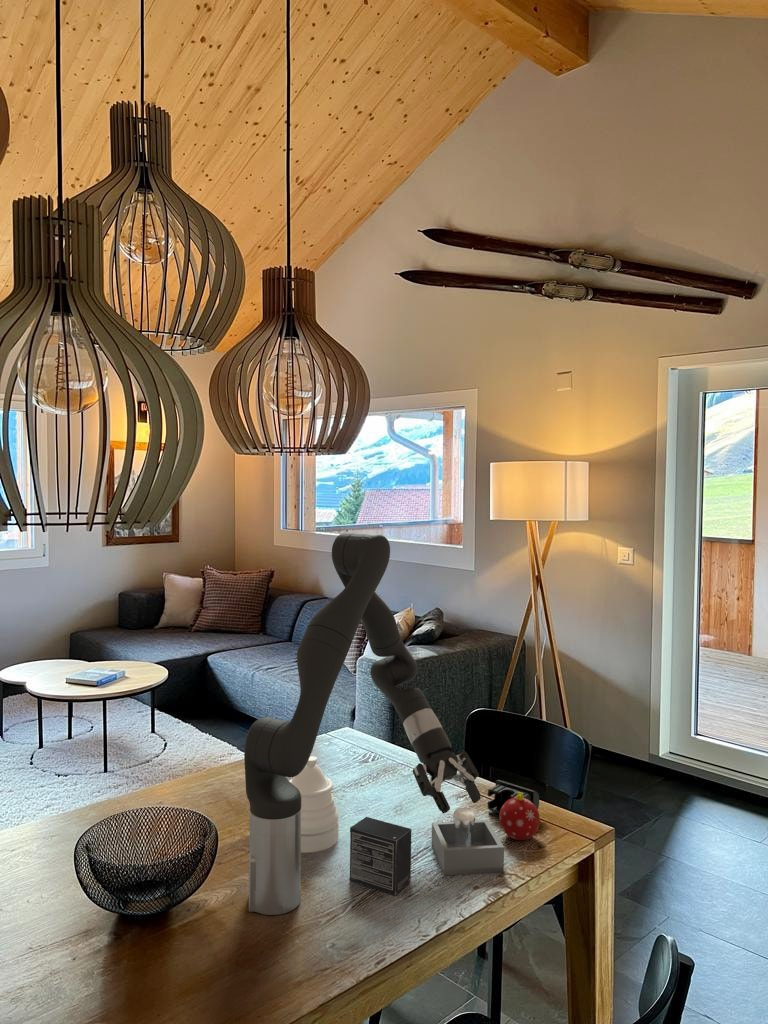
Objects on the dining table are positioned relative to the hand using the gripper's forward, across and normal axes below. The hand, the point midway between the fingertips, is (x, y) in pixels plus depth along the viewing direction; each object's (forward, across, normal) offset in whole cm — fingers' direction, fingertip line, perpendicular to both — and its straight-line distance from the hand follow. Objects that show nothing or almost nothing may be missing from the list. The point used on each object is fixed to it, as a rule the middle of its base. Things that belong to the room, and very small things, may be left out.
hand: (462, 806), depth 156 cm
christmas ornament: (+8, +16, +6) cm, 19 cm away
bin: (+8, 0, +6) cm, 10 cm away
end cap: (+3, +23, +12) cm, 26 cm away
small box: (+6, -19, +9) cm, 22 cm away
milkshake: (+8, 0, +6) cm, 10 cm away
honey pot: (-10, -21, +25) cm, 34 cm away
